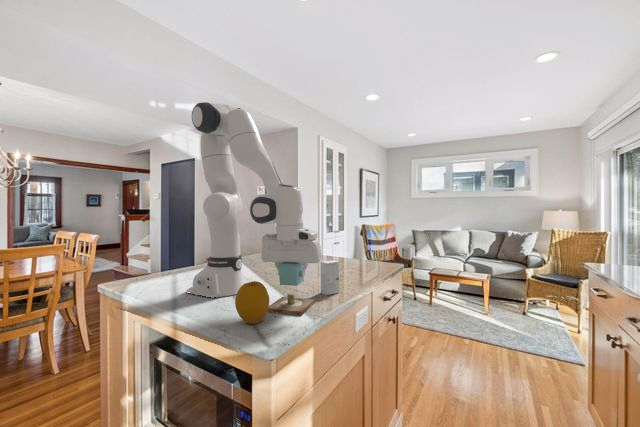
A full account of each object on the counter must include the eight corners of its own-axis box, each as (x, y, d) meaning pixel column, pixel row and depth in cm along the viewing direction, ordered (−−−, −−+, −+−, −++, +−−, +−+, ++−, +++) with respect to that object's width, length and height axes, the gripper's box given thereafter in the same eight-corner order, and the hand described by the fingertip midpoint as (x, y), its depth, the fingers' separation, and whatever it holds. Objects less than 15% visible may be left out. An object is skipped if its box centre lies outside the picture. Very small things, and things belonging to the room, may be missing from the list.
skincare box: (326, 295, 107) (326, 263, 106) (320, 292, 110) (319, 261, 110) (339, 292, 110) (339, 261, 110) (332, 290, 114) (332, 259, 114)
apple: (245, 314, 89) (245, 276, 89) (275, 316, 87) (274, 277, 86) (228, 327, 79) (228, 284, 79) (261, 329, 77) (260, 286, 77)
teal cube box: (279, 284, 92) (278, 263, 92) (287, 280, 98) (286, 260, 98) (297, 285, 90) (296, 264, 90) (303, 280, 96) (303, 260, 96)
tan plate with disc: (266, 311, 91) (266, 298, 90) (282, 300, 102) (282, 288, 102) (301, 315, 87) (301, 301, 87) (314, 303, 98) (314, 290, 98)
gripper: (257, 234, 94) (258, 276, 94) (316, 234, 88) (317, 279, 88) (266, 233, 100) (267, 272, 100) (322, 232, 94) (323, 274, 94)
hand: (291, 275), depth 94 cm, fingers closed on teal cube box, 6 cm apart
